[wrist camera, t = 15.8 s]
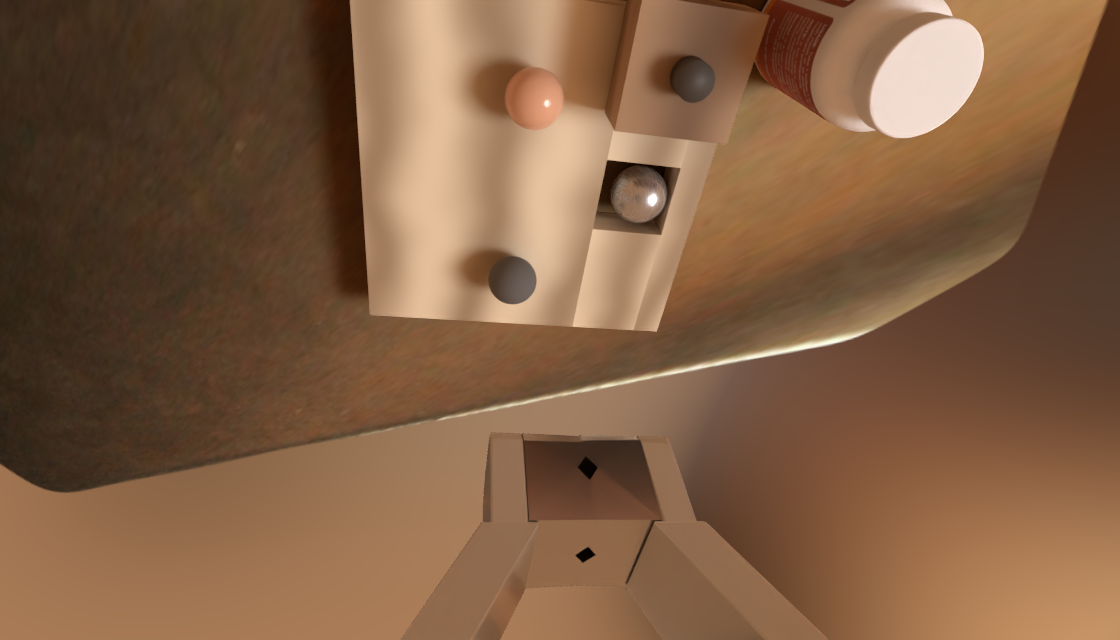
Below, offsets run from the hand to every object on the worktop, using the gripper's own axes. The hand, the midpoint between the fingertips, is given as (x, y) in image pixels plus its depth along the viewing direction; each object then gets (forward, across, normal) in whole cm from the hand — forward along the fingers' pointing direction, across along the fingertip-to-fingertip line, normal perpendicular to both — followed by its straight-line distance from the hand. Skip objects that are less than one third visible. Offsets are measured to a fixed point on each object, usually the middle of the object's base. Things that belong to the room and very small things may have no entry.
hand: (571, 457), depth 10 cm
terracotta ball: (+23, -1, 0) cm, 23 cm away
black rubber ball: (+23, -1, +12) cm, 26 cm away
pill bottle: (+27, -16, -4) cm, 32 cm away
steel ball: (+25, -8, +6) cm, 27 cm away
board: (+27, -2, +6) cm, 28 cm away
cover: (+24, -8, -2) cm, 26 cm away
